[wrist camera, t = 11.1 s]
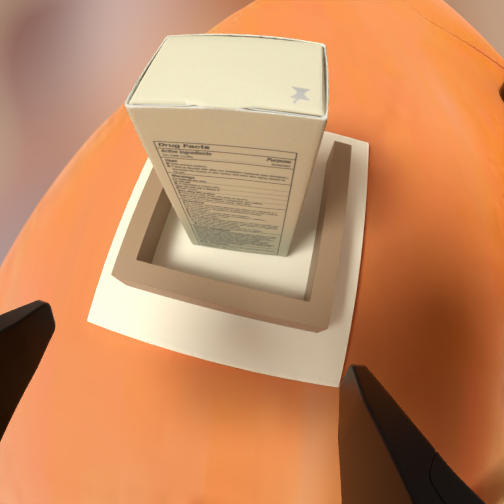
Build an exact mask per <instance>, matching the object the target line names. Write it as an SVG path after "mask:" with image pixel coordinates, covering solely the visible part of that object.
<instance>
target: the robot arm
mask: <svg viewBox="0 0 504 504" xmlns="http://www.w3.org/2000/svg"><path fill="white" fill-rule="evenodd" d="M54 331H55V321H54V317H53V313H52V310H51V306H50V305H49V303H47V302H44V301H41V300H37V301H34V302H32V303H29V304H27V305H24V306H22V307H19V308H17V309H14V310H12V311H9V312H7V313H4V314H2V315H0V441H1V439H2V437H3V435H4V432H5V430H6V428H7V426H8V424H9V422H10V420H11V418H12V415H13V413H14V411H15V409H16V407H17V405H18V403H19V401H20V399H21V398H22V396H23V394H24V392H25V390H26V388H27V386H28V384H29V382H30V381H31V379H32V377H33V375H34V373H35V371H36V369H37V368H38V365H39V363H40V361H41V359H42V357H43V354H44V352H45V350H46V348H47V346H48V343H49V341H50V339H51V337H52V335H53V333H54ZM338 445H339V459H340V476H341V496H342V504H486V503H485V502H484V501H482V500H481V499H480V498H479V497H478V496H477V495H476V494H475V493H474V492H473V491H472V490H471V489H470V488H469V487H468V486H467V485H466V484H465V483H464V482H463V481H462V480H461V479H460V478H459V477H458V476H457V475H456V474H455V472H454V471H453V470H452V469H451V468H450V467H449V466H448V464H447V463H446V462H445V461H444V460H443V458H442V457H441V456H440V455H439V454H438V452H435V449H434V448H433V446H432V445H431V444H430V443H429V442H428V440H427V439H426V438H425V437H424V435H423V434H422V433H421V432H420V431H419V429H418V428H417V427H416V426H415V425H414V423H413V422H412V421H411V420H410V418H409V417H408V416H407V415H406V414H405V412H404V411H403V410H402V409H401V408H400V406H399V405H398V404H397V403H396V402H395V400H394V399H393V398H392V397H391V396H390V394H389V393H388V392H387V391H386V390H385V388H384V387H383V386H382V385H381V384H380V382H379V381H378V380H377V379H376V378H375V377H374V375H373V374H372V373H371V372H370V371H369V369H368V368H367V367H366V366H364V365H354V364H353V365H351V366H350V367H349V368H348V370H347V373H346V375H345V377H344V379H343V381H342V383H341V386H340V396H339V426H338Z"/></svg>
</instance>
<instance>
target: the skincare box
mask: <svg viewBox="0 0 504 504" xmlns="http://www.w3.org/2000/svg"><path fill="white" fill-rule="evenodd" d="M328 97H329V83H328V60H327V53H326V47H325V45H324V44H322V43H317V42H310V41H303V40H297V39H291V38H282V37H273V36H262V35H245V34H191V35H171V36H167V37H166V38H165V40H164V41H163V43H162V44H161V46H160V47H159V48H158V50H157V51H156V52H155V54H154V55H153V57H152V58H151V60H150V61H149V63H148V64H147V66H146V67H145V69H144V71H143V72H142V74H141V75H140V77H139V78H138V80H137V82H136V84H135V85H134V87H133V89H132V90H131V92H130V94H129V96H128V97H127V99H126V101H125V107H126V110H127V112H128V114H129V116H130V118H131V121H132V123H133V125H134V127H135V129H136V131H137V134H138V136H139V138H140V140H141V142H142V144H143V146H144V148H145V150H146V153H147V155H148V157H149V159H150V161H151V163H152V165H153V167H154V169H155V171H156V173H157V176H158V178H159V180H160V182H161V184H162V186H163V188H164V190H165V192H166V194H167V196H168V198H169V200H170V202H171V204H172V206H173V208H174V210H175V212H176V214H177V216H178V218H179V220H180V222H181V224H182V226H183V227H184V229H185V231H186V233H187V235H188V237H189V239H190V241H191V243H192V244H193V245H198V246H204V247H210V248H216V249H223V250H230V251H238V252H246V253H254V254H263V255H273V256H283V257H286V256H287V255H288V253H289V250H290V247H291V243H292V240H293V237H294V234H295V231H296V227H297V224H298V221H299V217H300V214H301V211H302V207H303V204H304V200H305V197H306V194H307V190H308V187H309V183H310V180H311V176H312V173H313V169H314V166H315V162H316V159H317V155H318V152H319V148H320V144H321V141H322V138H323V134H324V131H325V127H326V124H327V119H328Z"/></svg>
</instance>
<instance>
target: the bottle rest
mask: <svg viewBox="0 0 504 504" xmlns="http://www.w3.org/2000/svg"><path fill="white" fill-rule="evenodd" d="M368 157H369V143H367V142H364V141H360V140H357V139H353V138H349V137H346V136H342V135H338V134H335V133H331V132H327V131H324V134H323V138H322V141H321V144H320V148H319V152H318V155H317V159H316V162H315V166H314V169H313V173H312V176H311V180H310V183H309V187H308V190H307V194H306V197H305V200H304V204H303V207H302V211H301V214H300V217H299V221H298V224H297V227H296V231H295V234H294V237H293V240H292V243H291V247H290V250H289V253H288V255H287V256H286V257H283V256H273V255H263V254H254V253H246V252H238V251H230V250H223V249H216V248H210V247H204V246H198V245H193V244H192V243H191V241H190V239H189V237H188V235H187V233H186V231H185V229H184V227H183V226H182V224H181V222H180V220H179V218H178V216H177V214H176V212H175V210H174V208H173V206H172V204H171V202H170V200H169V198H168V196H167V194H166V192H165V190H164V188H163V186H162V184H161V182H160V180H159V178H158V176H157V173H156V171H155V169H154V167H153V165H152V163H151V161H150V159H149V157H148V159H147V161H146V163H145V166H144V168H143V170H142V172H141V174H140V177H139V179H138V181H137V183H136V186H135V188H134V190H133V192H132V195H131V197H130V200H129V202H128V204H127V207H126V209H125V212H124V214H123V217H122V219H121V222H120V224H119V227H118V229H117V232H116V235H115V237H114V240H113V243H112V245H111V248H110V251H109V254H108V256H107V259H106V262H105V265H104V268H103V271H102V274H101V277H100V280H99V283H98V286H97V289H96V292H95V296H94V299H93V302H92V306H91V309H90V312H89V316H88V320H87V321H88V322H91V323H93V324H96V325H99V326H101V327H104V328H107V329H109V330H112V331H115V332H118V333H120V334H123V335H126V336H129V337H132V338H135V339H138V340H141V341H144V342H147V343H150V344H153V345H156V346H160V347H163V348H166V349H169V350H173V351H176V352H179V353H183V354H186V355H190V356H193V357H197V358H200V359H204V360H208V361H212V362H215V363H219V364H223V365H227V366H231V367H235V368H240V369H244V370H248V371H253V372H257V373H262V374H266V375H271V376H276V377H281V378H286V379H291V380H296V381H302V382H307V383H313V384H319V385H325V386H332V387H338V388H339V384H340V379H341V374H342V370H343V365H344V360H345V355H346V350H347V345H348V339H349V334H350V328H351V322H352V316H353V310H354V304H355V297H356V291H357V283H358V276H359V268H360V260H361V252H362V242H363V232H364V222H365V210H366V196H367V179H368Z"/></svg>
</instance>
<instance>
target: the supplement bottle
mask: <svg viewBox="0 0 504 504" xmlns="http://www.w3.org/2000/svg"><path fill="white" fill-rule="evenodd" d="M500 95H501V98H502V100H503V101H504V83H503V84H502V86H501V87H500Z"/></svg>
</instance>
